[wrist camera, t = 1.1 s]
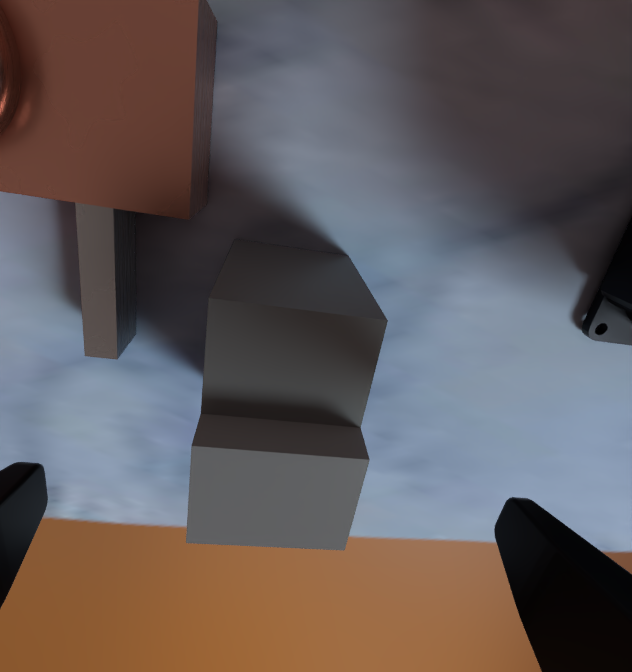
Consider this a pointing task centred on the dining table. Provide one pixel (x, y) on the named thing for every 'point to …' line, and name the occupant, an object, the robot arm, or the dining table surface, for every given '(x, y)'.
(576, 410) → the dining table surface
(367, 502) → the dining table surface
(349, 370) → the grey stepped block
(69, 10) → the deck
